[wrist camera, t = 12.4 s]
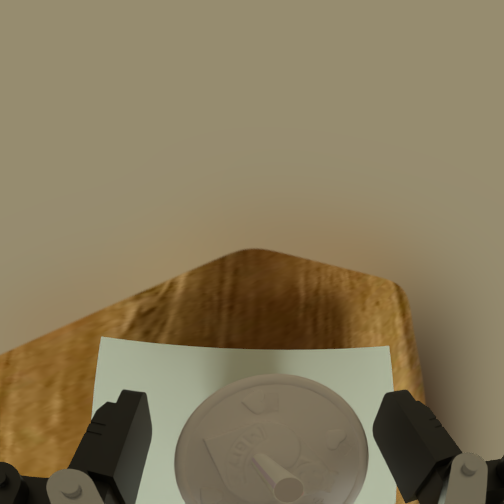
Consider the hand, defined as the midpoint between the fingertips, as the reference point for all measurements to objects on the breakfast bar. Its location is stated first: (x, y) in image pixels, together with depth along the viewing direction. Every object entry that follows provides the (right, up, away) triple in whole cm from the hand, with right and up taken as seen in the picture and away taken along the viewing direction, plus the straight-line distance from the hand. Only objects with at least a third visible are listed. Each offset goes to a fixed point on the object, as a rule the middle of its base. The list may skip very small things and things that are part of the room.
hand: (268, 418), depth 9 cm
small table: (-1, -10, +13) cm, 16 cm away
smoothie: (-1, -6, +7) cm, 9 cm away
